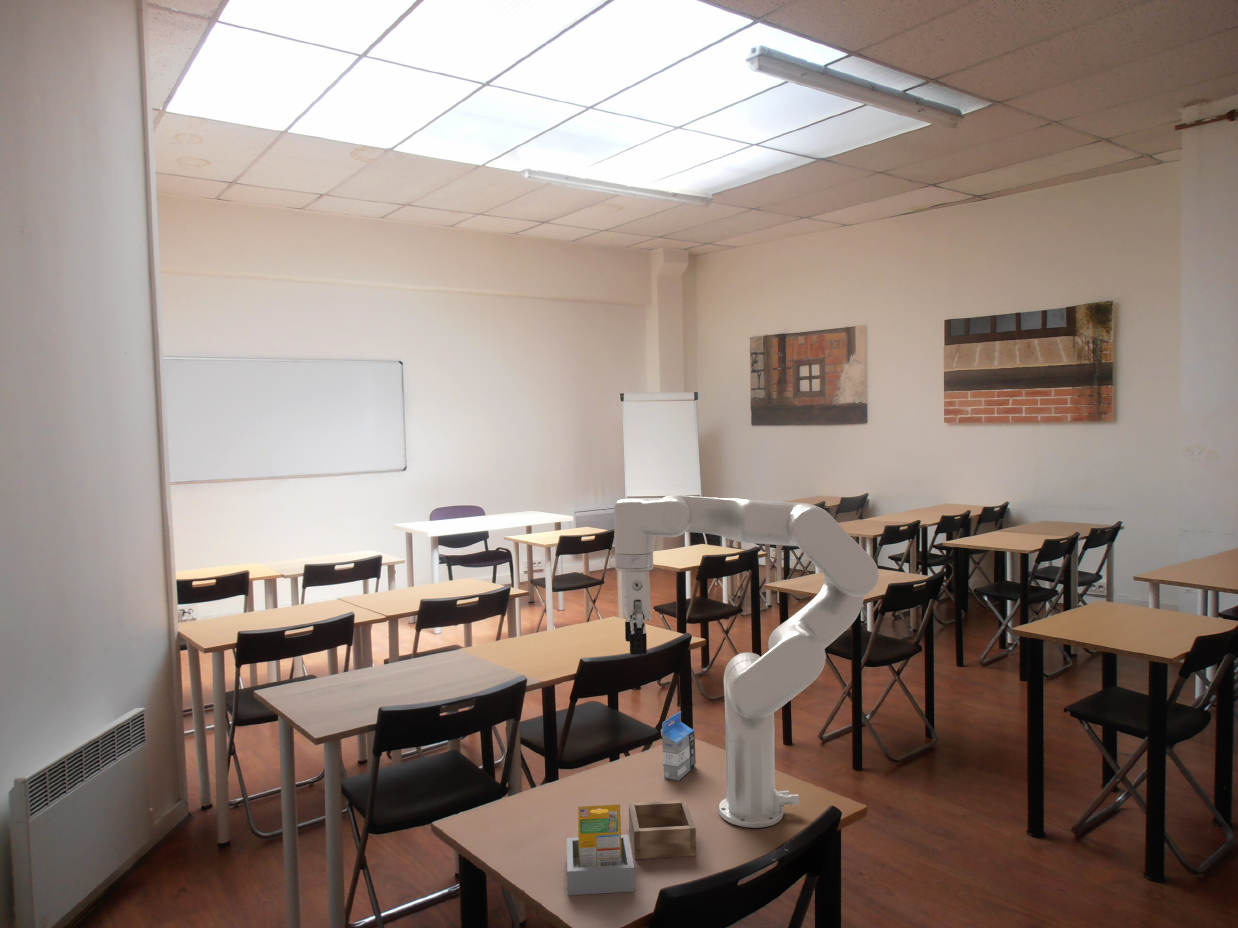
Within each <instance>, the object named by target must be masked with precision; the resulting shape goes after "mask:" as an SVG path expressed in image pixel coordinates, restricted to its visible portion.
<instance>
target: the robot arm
mask: <svg viewBox="0 0 1238 928" xmlns="http://www.w3.org/2000/svg"><path fill="white" fill-rule="evenodd" d="M613 513H614V515H613V517H614V519H613V520H614V561H615V562H614V564H615V565H614V568H615V570H616V571H620V572H621V573H620V574H621V575H620V576H621V600H622V601H621V602H622V610H623V614H624V617H625V621H624V632H625V635H624V638H625V642H627V643H628V642H629V653H630V655H633V656H634V655H646V654H647V653H648V652H647V651H648V650H647V649H648V644H647V637H648V636H647V632H646V631H647V630H646V620H647V622H650V621H652V603H651V601H652V600H651V584H650V581H651V580H650V571H651V570H653V569H654V536H658V537H666V538H677V537H680V536H682V535H685V533H699V534H707V535H708V534H709V535H713V536H714V535H715V536H718V537H719V536H720V537H723V538H726V539H728V540H731V541H733V542H734V541H735V542H737V543H738V542H739V543H744V544H757V545H758V544H762V545H775V546H776V545H777V546H787V547H788V546H790V547H798V548H799V549H800V551H801V552H802V553H803V554H804V555H805V556H806V558H808V559H809V560H810V562H812V564H813V565H814V566H815V567H816V568H817V569H818V570H819V571H820V573H822V574H823V583H822V585H821V588H820V590H819V591H818V593H817V594H816V595H815V596H814V597H813V598H812V599H810V601H809V602H808V603H807V604H805V605H804V606H803V607H802V608H801V609H800V610H798V611H796V613H794V614H793V615H792V616H791V617H789V618H788V619H786V620H785V621H784V622H782V623H781V624H780V625H778V626H777V627H776V628H774V629H773V631H772V632H771V633H770V635H769V637H768V638H769V639H768V643H767V646H768V651H767V652H765V653H764V654H763V655H762V656H760V655H759V654H757V653H754V652H747V651H746V652H741V653H737V654H736V655H734V656H733V657H732V658H731V659H730V660H729V661H728V662H727V664H726V666H725V668H724V669H725V670H724V672H723V673H724V674H723V691H724V692H723V693H724V694H723V695H724V709H725V710H724V711H725V712H724V713H725V715H724V716H725V783H726V784H725V785H726V787H725V788H726V792H725V794H726V796H725V798H723V799H722V800H721V801H719V804H718V813H719V815H720V817H721V818H722V819H723V820H725V821H726V822H728V823H730V824H732V825H733V826H739V827H742V828H753V829H757V828H766V827H771V826H774V825H776V824H778V823H779V822H781V820H782V819H783V817H784V806H787V805H789V806H799V805H800V803H801V802H800V801H801V800H800V796H799V794H797V793H794V794H790V791H789V790H781V791H778V789H776V777H775V775H776V773H775V772H776V769H775V768H776V767H775V766H776V765H775V761H776V760H775V753H776V752H775V712H777V711H778V710H780V709H781V708H782V707H784V706H785V705H786V704H788V702H790V701H792V700H793V699H794V698H795V697H796V696H798V695H799V694H800V693H802V692H803V691H804V690H805V689H806V688H808V687H809V686H810V685H812V684H813V683H814V682H815V681H816V680H817V678H818V677H819V676H820V675H821V673H822V671H823V670H824V667H825V666H826V659H827V656H826V650H825V649H826V648H827V647H828V646H830V645H831V644H832V643H834V642H835V640H837V639H838V638H839V637H840V636H841V635H843V633H844V632H846V631H847V630H848V629H849V628H850V627H851V626H852V625H853V623H854V622H855V621H856V620H857V618H858V617H859V614H860V613H861V610H862V608H863V603H864V601H865V596H867V595H869V594H870V593H871V592H872V591H873V590H874V589H875V588H876V587H877V584H878V583H879V576H880V574H879V569H878V565H877V563H876V562H875V561H876V560H874V559H873V558H872V556H871V555H870V554H868V553H867V552H866V551H865V549H864V548H863V547H862V546H861V545H859V543H857V541H856V540H855V539H854V538H853V537H852V536H851V535H850V534H849V533H848V532H847V531H846V530H845V528H843V527H842V526H841V524H839V523H838V521H837V520H836V519H835V518H834V517H833V516H832V515H831V514H830V513H829V512H828V510H825V509H823V508H822V507H820V506H817V505H815V504H812V503H806V502H795V501H794V502H792V501H790V502H789V501H775V500H773V501H772V500H763V499H761V500H759V499H758V500H757V499H747V498H721V497H720V498H719V497H711V496H710V497H708V496H696V495H695V496H693V495H682V494H681V495H678V494H677V495H676V494H670V495H666V496H664V497H662V498H660V499H658V500H649V499H646V498H633V497H632V498H631V497H630V498H621V499H619V500H617V501H616V502H615V503H614V509H613Z"/></svg>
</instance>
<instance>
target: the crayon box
mask: <svg viewBox="0 0 1238 928" xmlns="http://www.w3.org/2000/svg"><path fill="white" fill-rule="evenodd" d="M577 808H578V810H577V827H578V829H577V831H578V832H577V833H578V834H577V835H578V836H577V837H578V838H579V868H581V867H598V866H614V865H622V853H621V835H622V822H621V819H622V818H621V817H622V816H621V804H620V803H619V804H603V805H585V806H578V807H577Z"/></svg>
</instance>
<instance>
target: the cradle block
mask: <svg viewBox="0 0 1238 928" xmlns="http://www.w3.org/2000/svg"><path fill="white" fill-rule="evenodd" d="M630 841H631V840H630V836H629V834H621V853H622V865H614V866H598V867H581V868H579V838H578V836H577V837H566V867H567V868H566V870H567V871H566V873H567V876H566V878H567V896H582V895H597V894H598V895H599V894H610V893H611V894H613V893H614V894H615V893H617V894H618V893H631V892H635V891H636V889H635V888H636V887H635V882H636V881H635V864H634V859H633V858H634V857H633V853H632V852H633V851H632V849H631V848H632V846H631V842H630Z"/></svg>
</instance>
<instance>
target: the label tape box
mask: <svg viewBox="0 0 1238 928" xmlns="http://www.w3.org/2000/svg"><path fill="white" fill-rule="evenodd" d="M681 714H682V710H680V711H679V712H676V713H675V714H673V715H672V716H670V717H669V718H667V719H666V720H664V721H662V724H661V725H662V726H661V727H662V728H661V739H662V741H661V742H662V744H661V745H662V763H663V765H662V766H663V778H665V779H667V780H668V779H669V780H672V781H680V780H682V778H684V777H685V776H686V775H687V774H688V773H689V772H691V771H692V770H693V769H694V768H695V767H696V766H697V765H696V764H697V761H696V740H695V739H696V737H695V730H694V729H693V728H691V727H689V726H688V725H686V724H685V723H683V722H682V721H681V717H682V715H681ZM671 722H673V723H671Z"/></svg>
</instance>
